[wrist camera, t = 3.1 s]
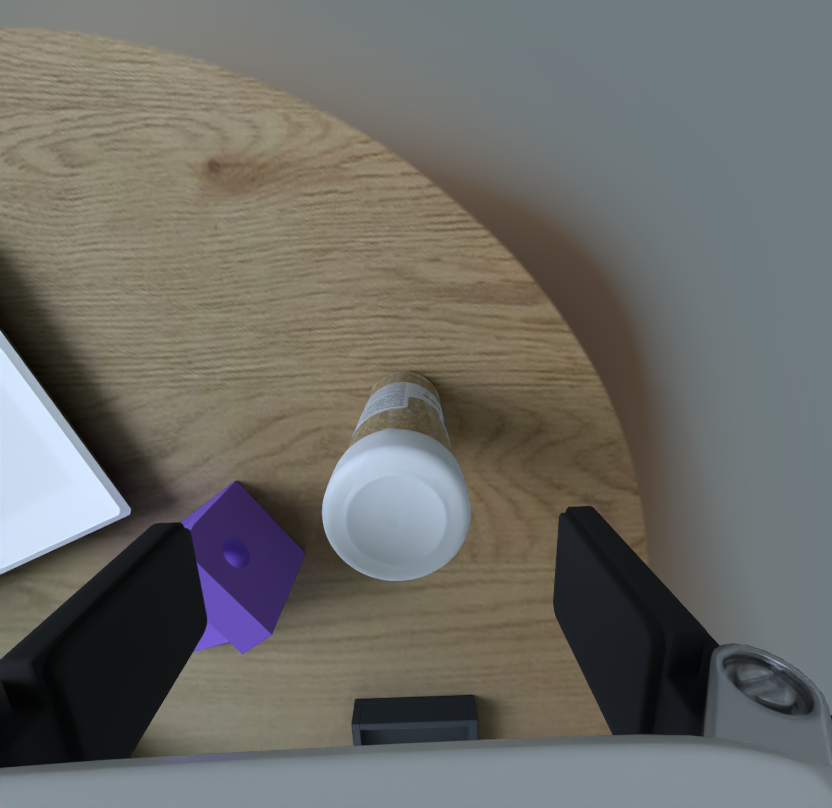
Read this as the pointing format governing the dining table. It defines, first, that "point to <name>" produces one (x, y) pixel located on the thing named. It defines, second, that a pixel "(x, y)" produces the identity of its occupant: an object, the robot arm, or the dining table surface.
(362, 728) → the dark grey square tray
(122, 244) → the dining table surface
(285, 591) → the bracket
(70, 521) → the plate
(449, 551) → the sprinkles bottle
